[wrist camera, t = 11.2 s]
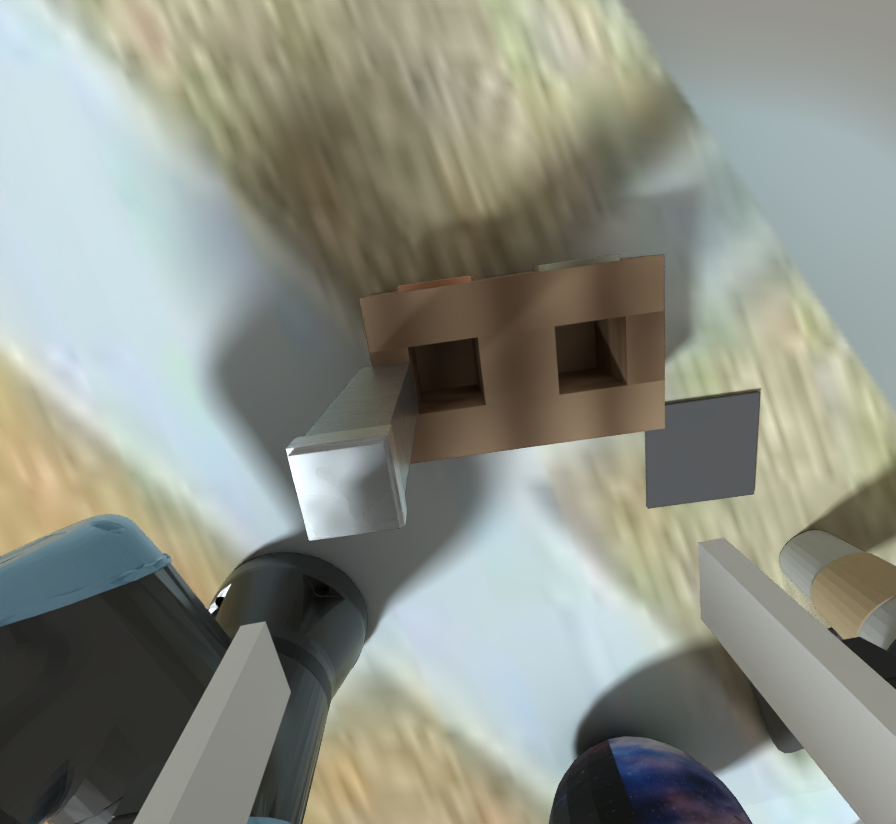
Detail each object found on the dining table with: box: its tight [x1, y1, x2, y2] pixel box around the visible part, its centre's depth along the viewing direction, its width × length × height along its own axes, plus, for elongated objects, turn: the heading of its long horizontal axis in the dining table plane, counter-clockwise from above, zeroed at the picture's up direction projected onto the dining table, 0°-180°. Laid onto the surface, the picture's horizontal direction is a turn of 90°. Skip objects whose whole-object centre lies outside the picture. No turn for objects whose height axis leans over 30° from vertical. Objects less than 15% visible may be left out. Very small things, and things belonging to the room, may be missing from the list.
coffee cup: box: [779, 530, 896, 657], centre depth 39 cm, size 9×9×15 cm
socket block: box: [359, 254, 665, 464], centre depth 35 cm, size 20×12×8 cm, turn 98°
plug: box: [286, 361, 418, 541], centre depth 24 cm, size 4×4×16 cm
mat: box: [645, 391, 760, 509], centre depth 42 cm, size 10×10×1 cm
